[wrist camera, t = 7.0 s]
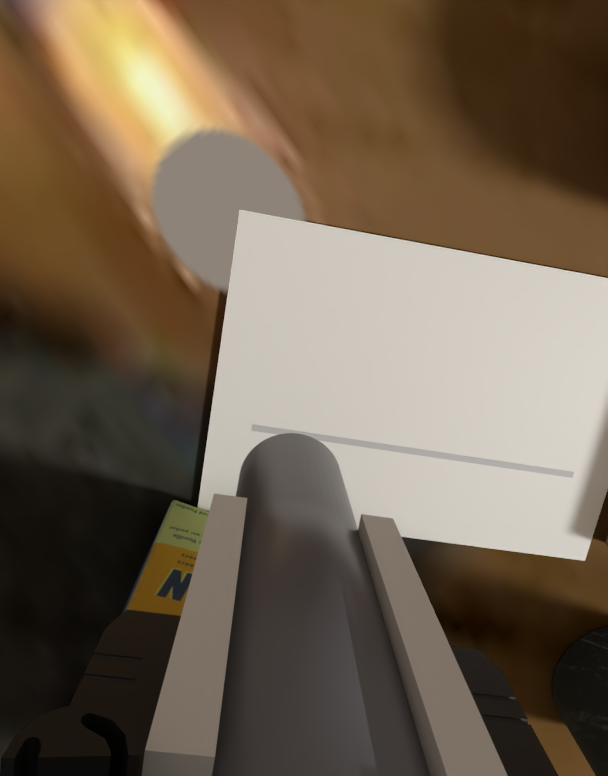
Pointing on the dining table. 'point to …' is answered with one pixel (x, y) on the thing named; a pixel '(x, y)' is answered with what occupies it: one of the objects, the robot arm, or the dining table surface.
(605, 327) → the paper
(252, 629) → the marker
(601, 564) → the dining table surface
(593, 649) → the travel mug
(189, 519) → the protein box
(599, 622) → the dining table surface
